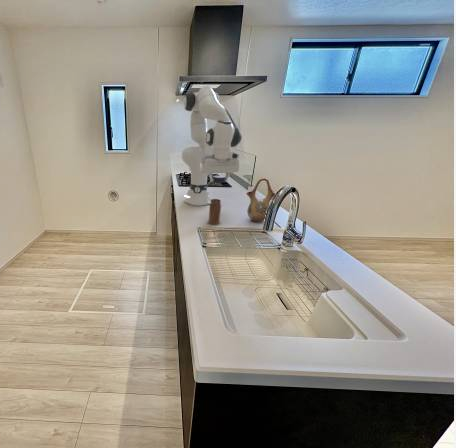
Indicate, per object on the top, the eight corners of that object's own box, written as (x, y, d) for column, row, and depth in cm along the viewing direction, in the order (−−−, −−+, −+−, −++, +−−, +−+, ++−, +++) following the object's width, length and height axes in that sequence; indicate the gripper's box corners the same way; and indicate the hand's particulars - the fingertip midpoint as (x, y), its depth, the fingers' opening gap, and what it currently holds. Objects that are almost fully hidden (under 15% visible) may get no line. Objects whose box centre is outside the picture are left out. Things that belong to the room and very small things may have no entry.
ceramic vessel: (268, 218, 143) (275, 176, 134) (274, 223, 135) (282, 180, 126) (240, 217, 144) (246, 176, 135) (244, 223, 136) (251, 179, 126)
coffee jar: (208, 220, 141) (210, 198, 136) (219, 221, 139) (221, 199, 134) (207, 224, 135) (209, 201, 130) (219, 225, 134) (221, 202, 128)
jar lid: (227, 181, 128) (228, 176, 127) (220, 183, 123) (221, 178, 122) (216, 179, 132) (217, 175, 131) (209, 181, 128) (210, 176, 127)
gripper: (205, 155, 117) (203, 183, 123) (242, 154, 122) (238, 181, 127) (200, 154, 123) (198, 181, 128) (235, 153, 127) (232, 179, 133)
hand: (218, 181), depth 128 cm, fingers closed on jar lid, 6 cm apart
